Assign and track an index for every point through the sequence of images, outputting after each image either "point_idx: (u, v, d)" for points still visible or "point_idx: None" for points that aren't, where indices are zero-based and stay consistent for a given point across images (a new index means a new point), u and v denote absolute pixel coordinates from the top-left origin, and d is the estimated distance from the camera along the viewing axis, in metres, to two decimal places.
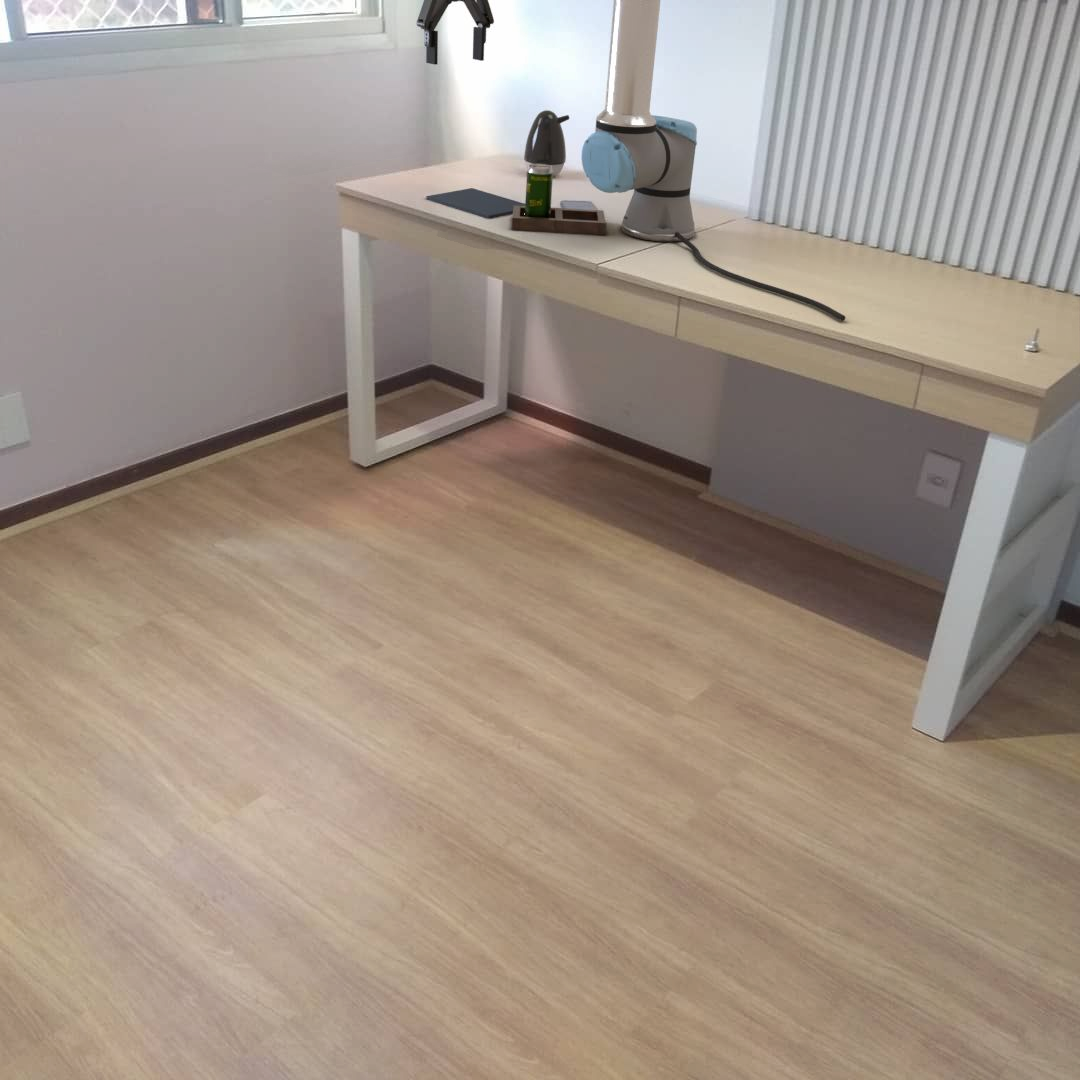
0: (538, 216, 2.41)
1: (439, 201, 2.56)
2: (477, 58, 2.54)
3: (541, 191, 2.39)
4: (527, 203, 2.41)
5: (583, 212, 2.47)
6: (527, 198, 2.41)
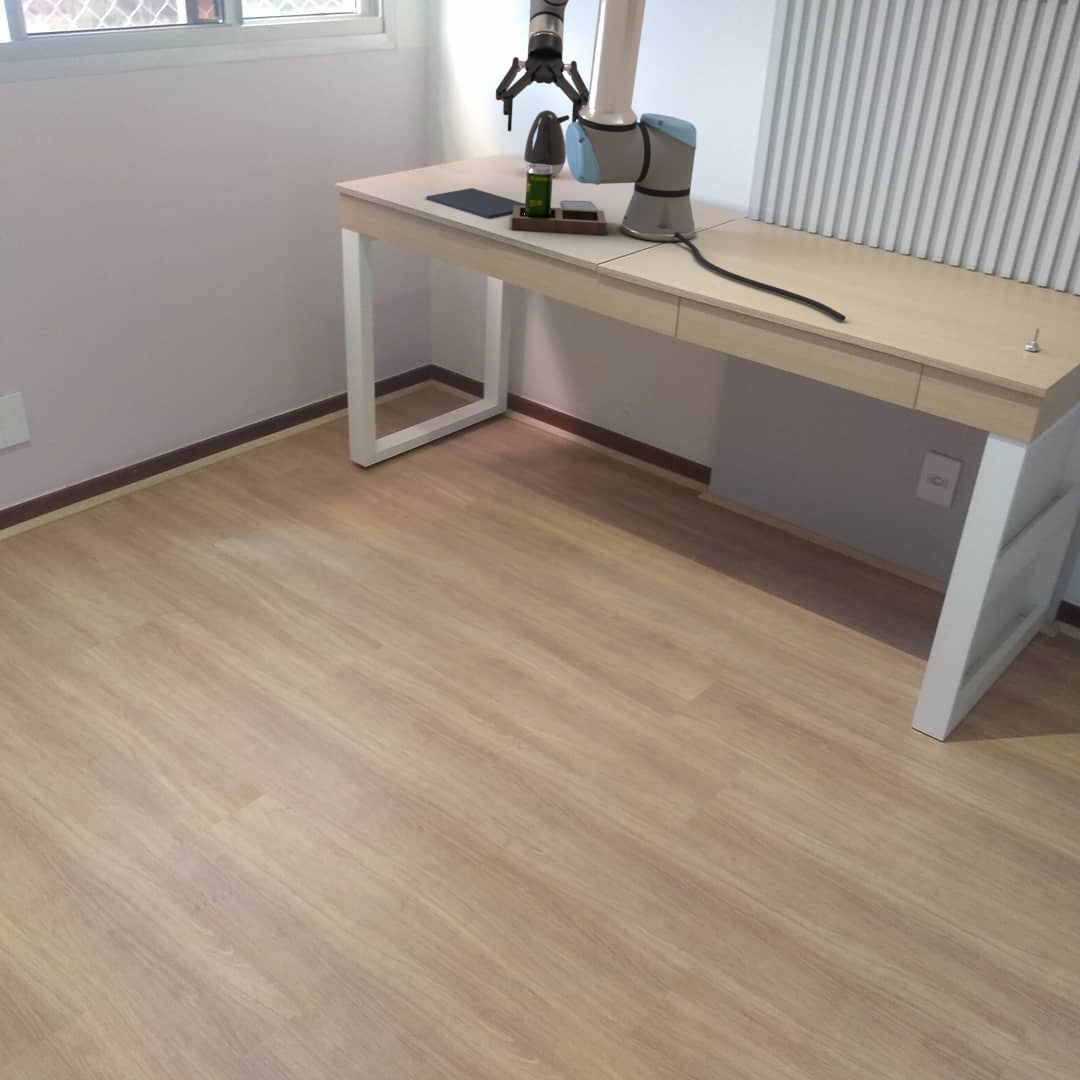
0: (538, 216, 2.41)
1: (439, 201, 2.56)
2: None
3: (541, 191, 2.39)
4: (527, 203, 2.41)
5: (583, 212, 2.47)
6: (527, 198, 2.41)
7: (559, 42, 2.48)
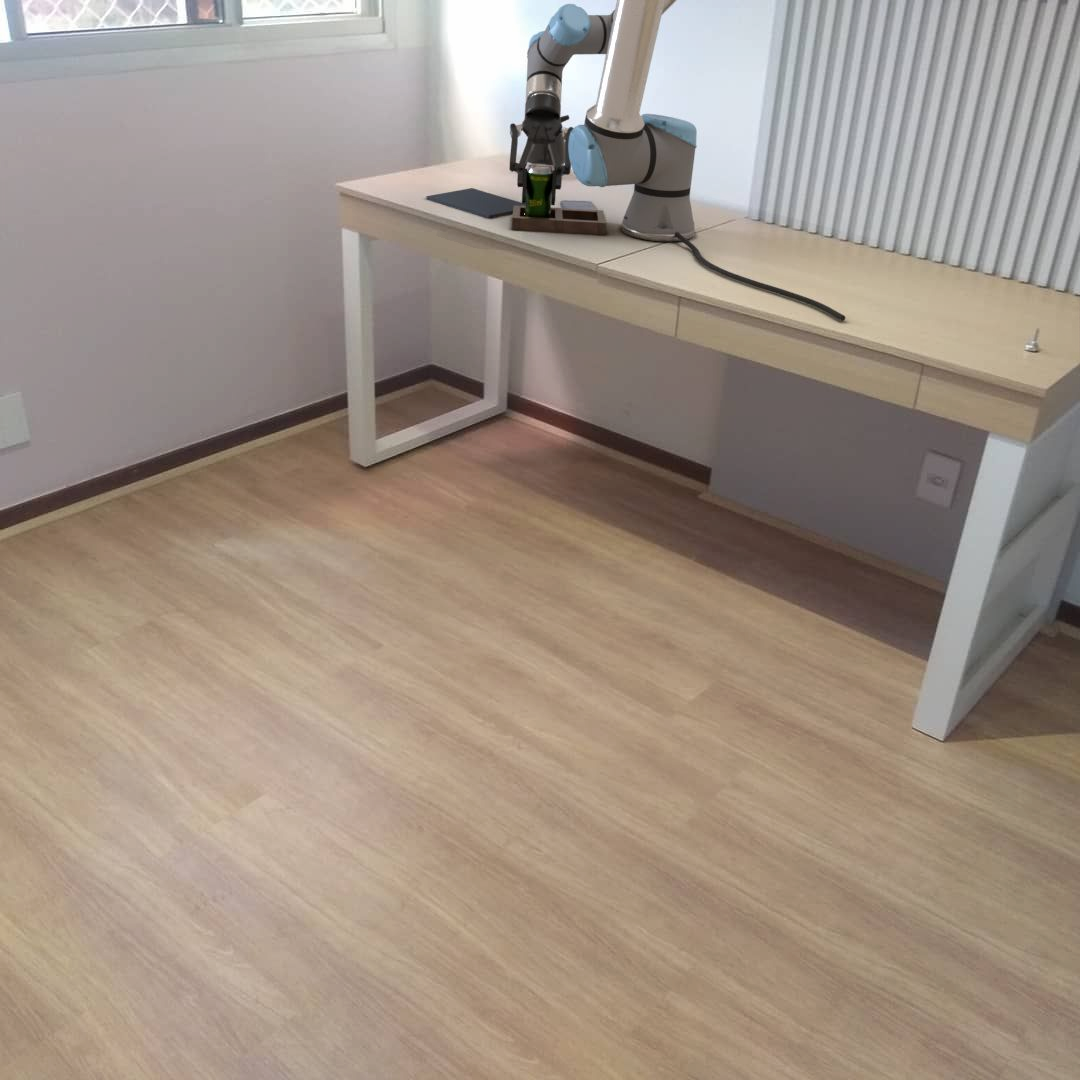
0: (538, 216, 2.41)
1: (439, 201, 2.56)
2: (551, 199, 2.38)
3: (541, 191, 2.39)
4: (527, 203, 2.41)
5: (583, 212, 2.47)
6: (527, 198, 2.41)
7: (557, 102, 2.42)
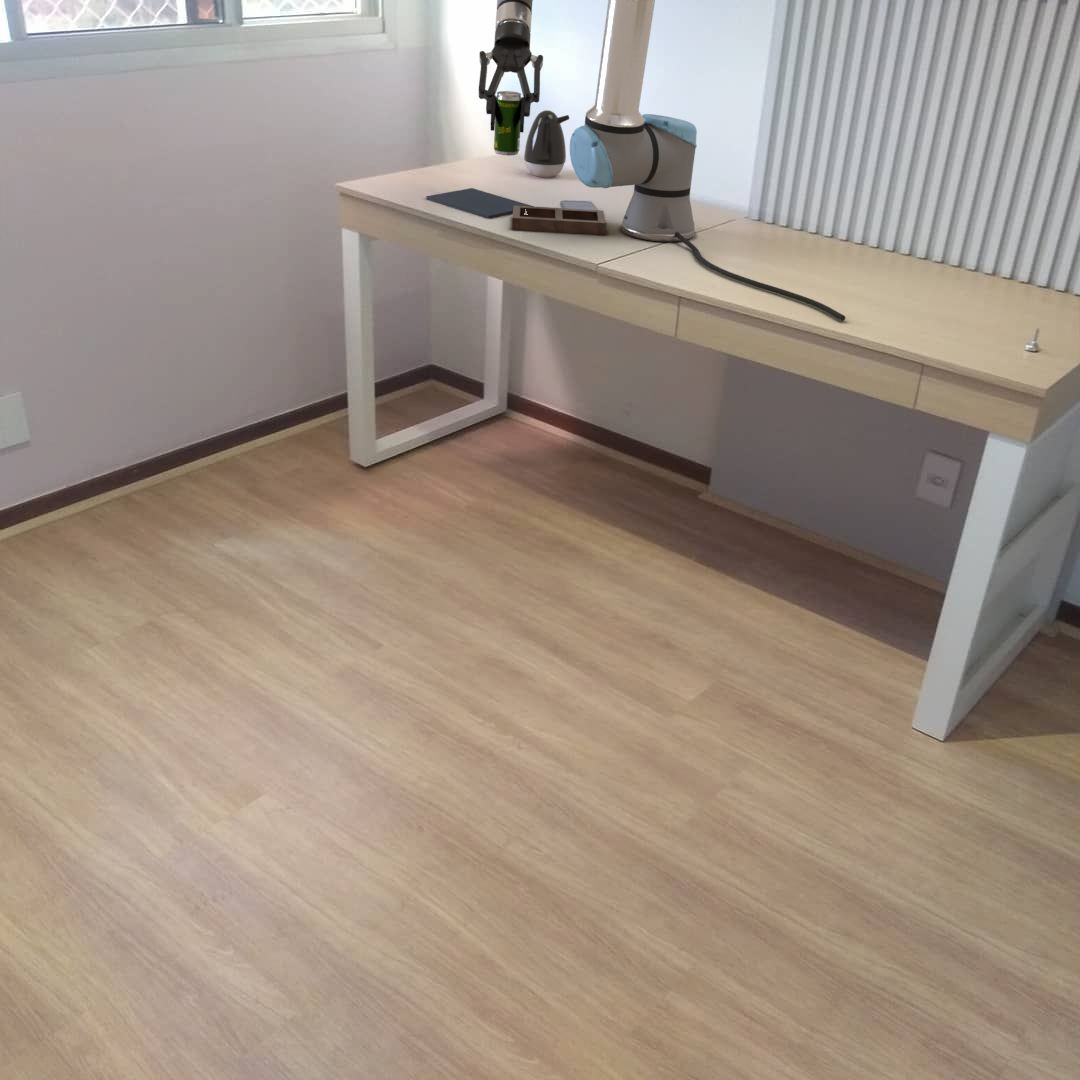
0: (507, 144, 2.42)
1: (439, 201, 2.56)
2: None
3: (510, 118, 2.40)
4: (496, 130, 2.42)
5: (583, 212, 2.47)
6: (496, 125, 2.42)
7: (526, 30, 2.43)
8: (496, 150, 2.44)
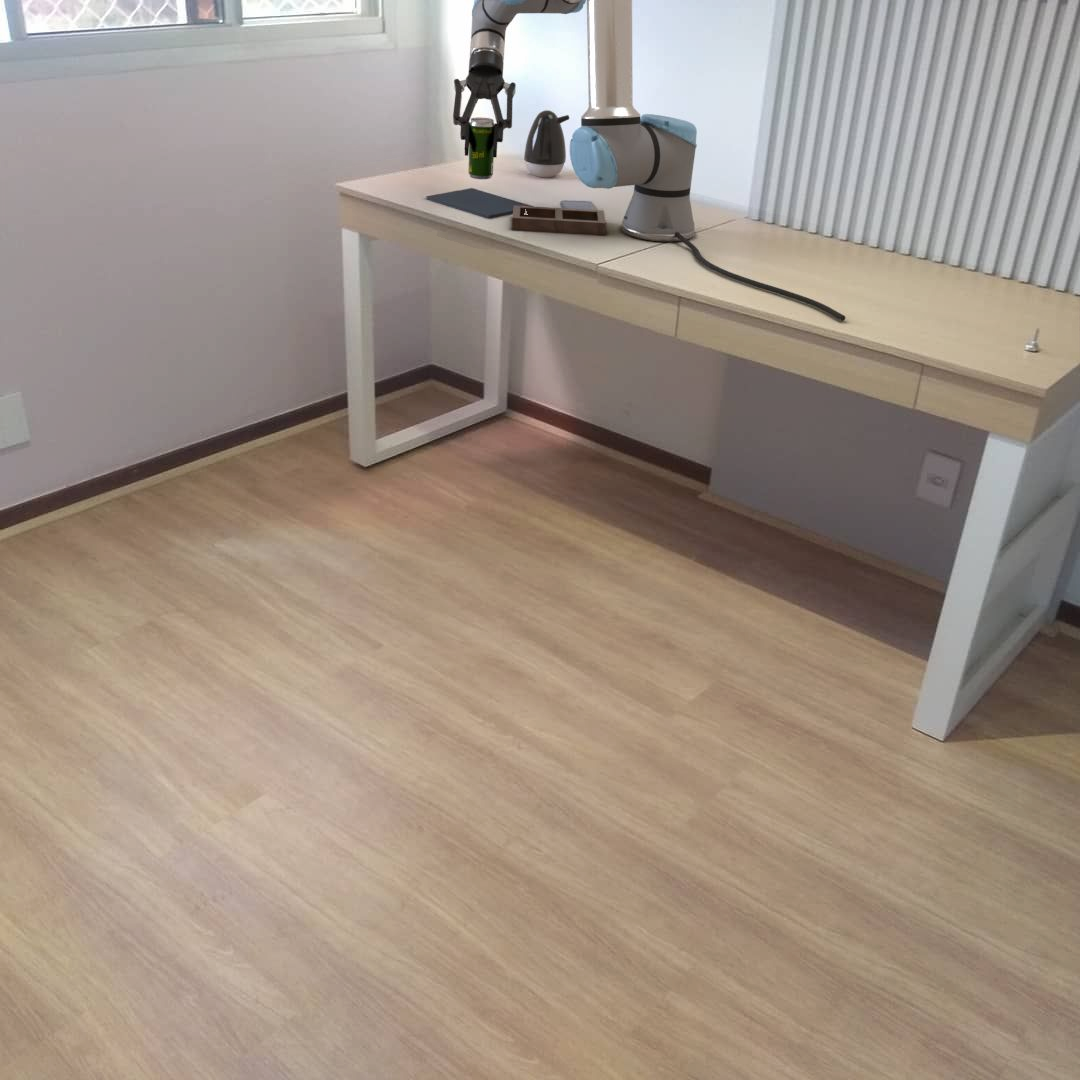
0: (480, 168, 2.51)
1: (439, 201, 2.56)
2: None
3: (483, 144, 2.48)
4: (470, 155, 2.51)
5: (583, 212, 2.47)
6: (470, 150, 2.50)
7: (499, 58, 2.52)
8: (470, 174, 2.53)
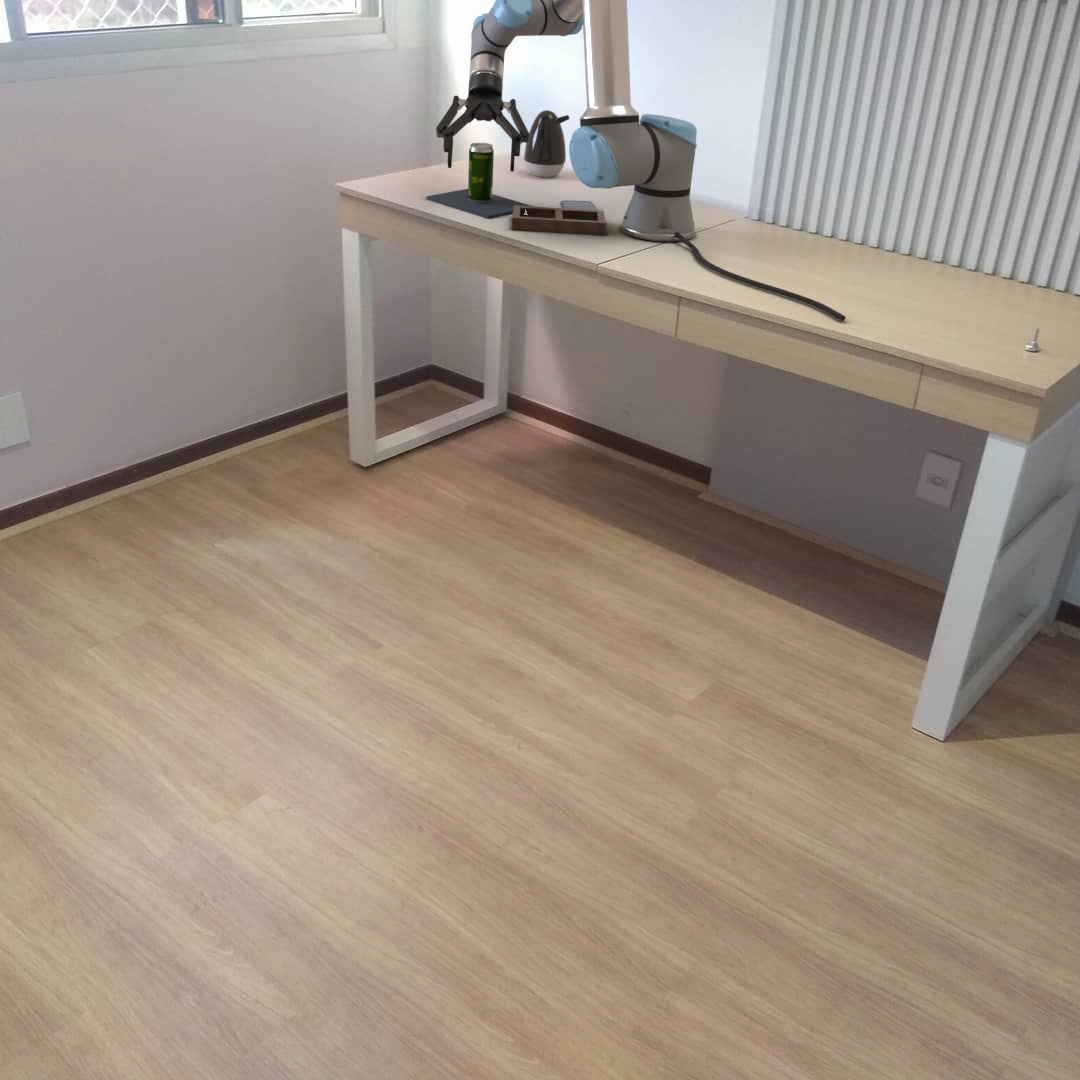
0: (480, 193, 2.54)
1: (439, 201, 2.56)
2: (510, 166, 2.51)
3: (482, 169, 2.51)
4: (470, 180, 2.53)
5: (583, 212, 2.47)
6: (469, 175, 2.53)
7: (498, 80, 2.54)
8: (470, 198, 2.55)
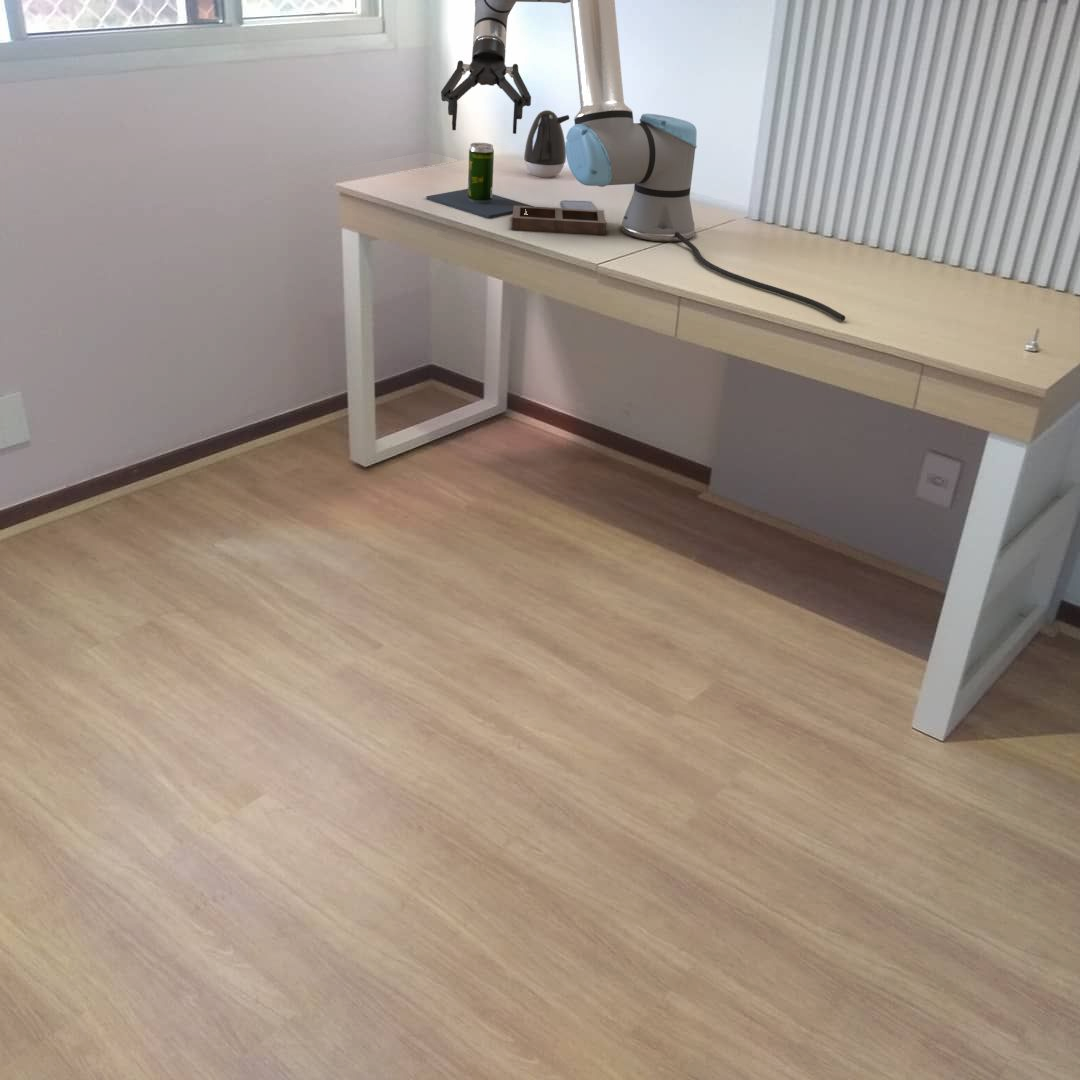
0: (480, 193, 2.54)
1: (439, 201, 2.56)
2: None
3: (482, 169, 2.51)
4: (470, 180, 2.53)
5: (583, 212, 2.47)
6: (469, 175, 2.53)
7: (501, 46, 2.62)
8: (470, 198, 2.55)
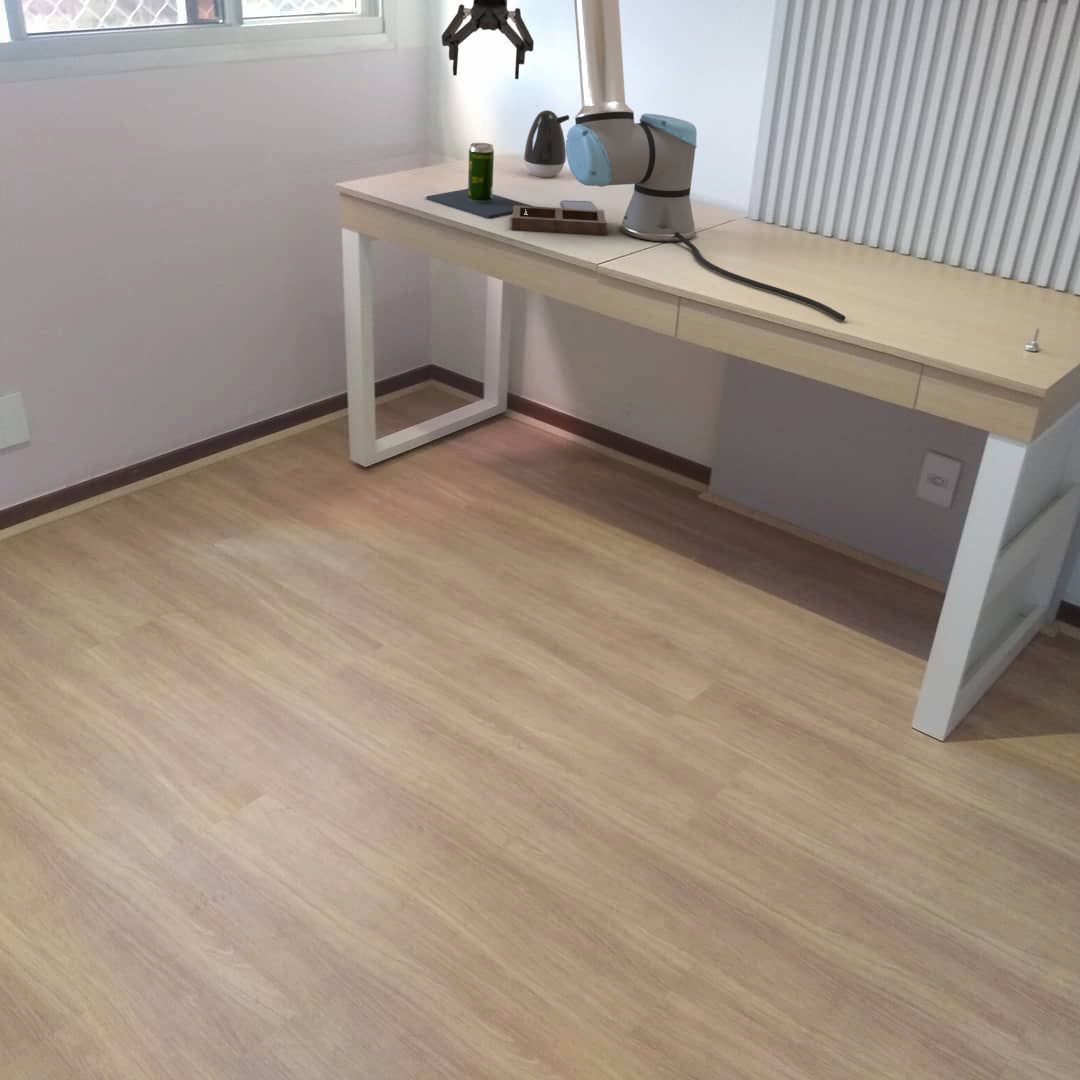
0: (480, 193, 2.54)
1: (439, 201, 2.56)
2: (515, 73, 2.54)
3: (482, 169, 2.51)
4: (470, 180, 2.53)
5: (583, 212, 2.47)
6: (469, 175, 2.53)
7: None
8: (470, 198, 2.55)
